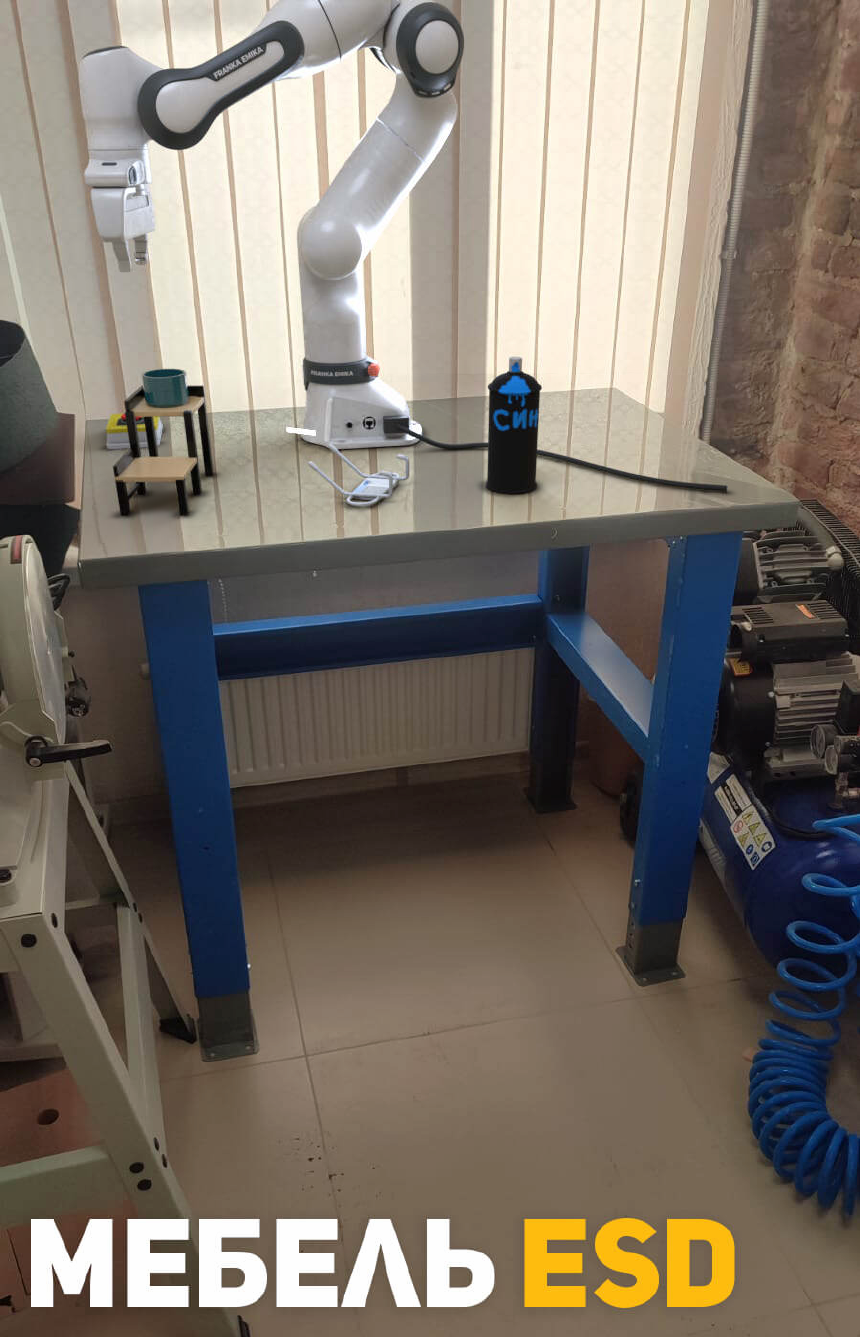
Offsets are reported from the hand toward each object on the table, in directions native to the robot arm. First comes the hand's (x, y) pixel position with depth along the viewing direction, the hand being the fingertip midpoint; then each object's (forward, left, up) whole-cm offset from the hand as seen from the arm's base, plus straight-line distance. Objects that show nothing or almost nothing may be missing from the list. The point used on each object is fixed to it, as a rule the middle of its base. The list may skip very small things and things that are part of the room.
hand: (134, 268), depth 159 cm
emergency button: (+8, -14, -31) cm, 35 cm away
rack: (-6, +19, -31) cm, 37 cm away
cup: (-6, +14, -18) cm, 24 cm away
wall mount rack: (-36, +18, -31) cm, 51 cm away
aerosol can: (-60, +16, -31) cm, 69 cm away
